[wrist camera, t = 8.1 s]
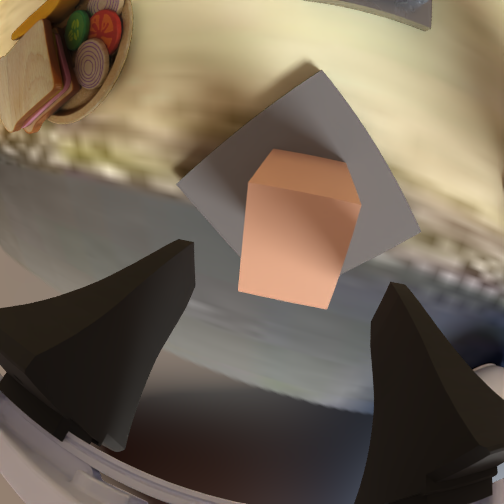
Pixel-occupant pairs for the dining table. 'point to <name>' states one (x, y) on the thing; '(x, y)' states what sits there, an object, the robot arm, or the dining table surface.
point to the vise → (392, 10)
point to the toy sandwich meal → (63, 62)
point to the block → (297, 228)
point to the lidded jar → (492, 377)
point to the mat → (311, 143)
